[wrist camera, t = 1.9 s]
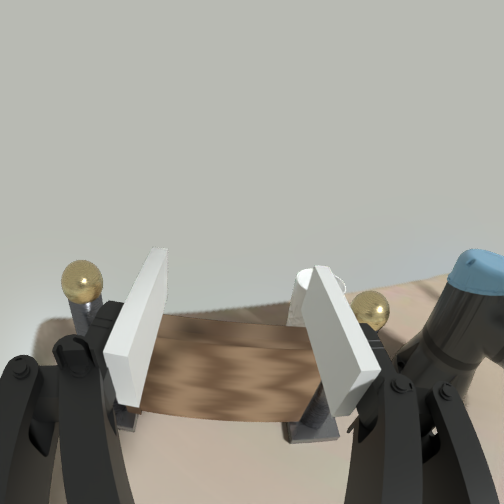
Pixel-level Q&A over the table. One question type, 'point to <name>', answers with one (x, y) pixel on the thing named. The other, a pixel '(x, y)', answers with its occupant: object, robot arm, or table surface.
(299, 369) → the panel
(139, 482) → the table surface
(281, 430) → the table surface
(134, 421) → the gate posts
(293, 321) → the white cup
